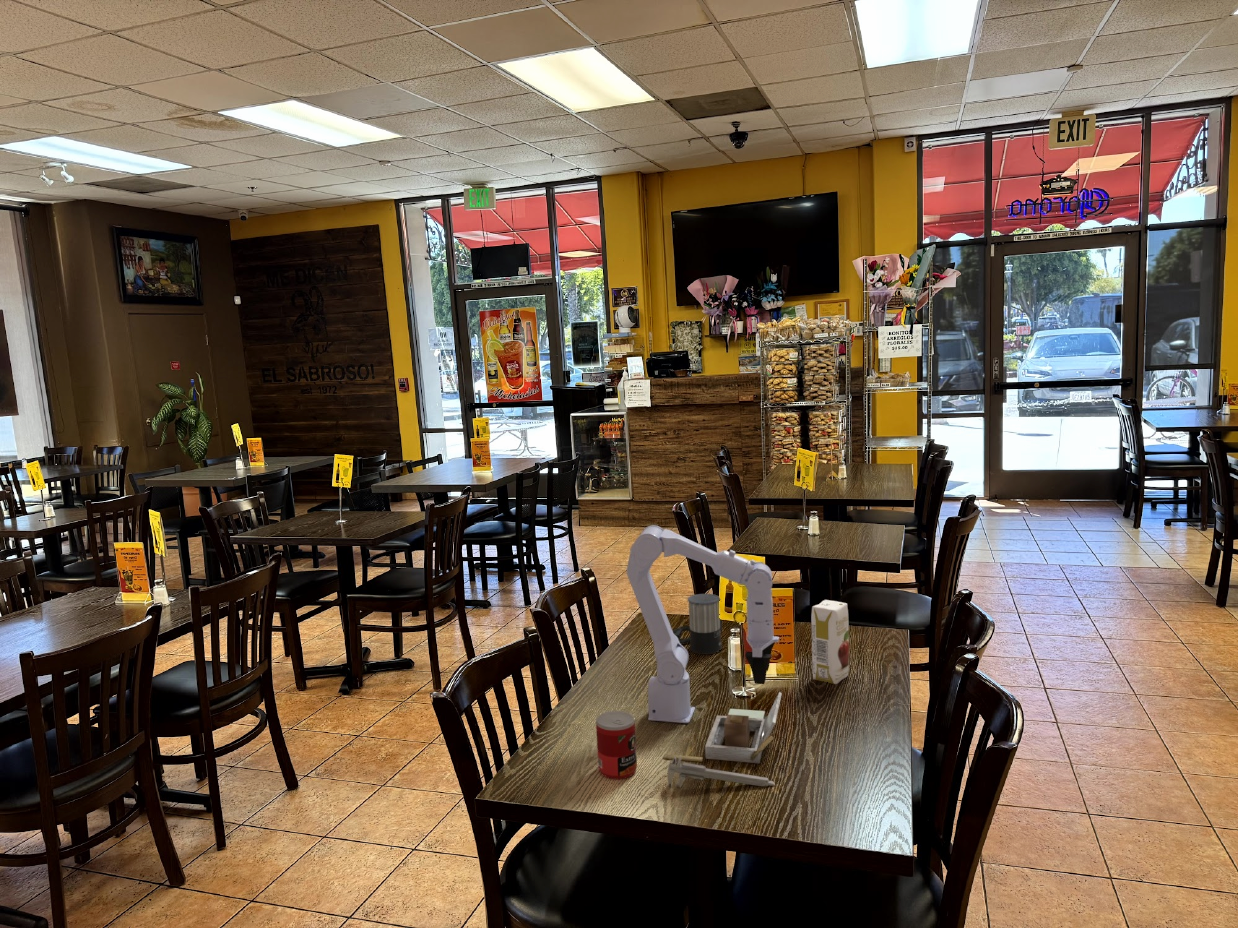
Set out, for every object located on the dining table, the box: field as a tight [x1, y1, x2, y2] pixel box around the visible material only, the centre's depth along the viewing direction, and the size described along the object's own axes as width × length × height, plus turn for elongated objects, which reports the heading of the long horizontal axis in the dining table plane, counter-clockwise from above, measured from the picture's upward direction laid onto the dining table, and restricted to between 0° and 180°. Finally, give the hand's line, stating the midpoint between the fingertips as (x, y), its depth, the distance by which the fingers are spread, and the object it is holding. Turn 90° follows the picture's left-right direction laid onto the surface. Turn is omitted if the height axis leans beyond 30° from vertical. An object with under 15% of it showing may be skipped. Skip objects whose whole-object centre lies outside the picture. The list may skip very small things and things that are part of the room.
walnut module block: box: [724, 714, 750, 748], centre depth 176 cm, size 4×4×6 cm
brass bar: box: [663, 753, 704, 763], centre depth 171 cm, size 8×1×1 cm, turn 74°
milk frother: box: [672, 593, 723, 655], centre depth 236 cm, size 14×16×15 cm
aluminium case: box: [704, 714, 765, 764], centre depth 176 cm, size 11×15×3 cm
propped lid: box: [750, 691, 783, 761], centre depth 174 cm, size 5×16×8 cm, turn 164°
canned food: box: [595, 710, 638, 780], centre depth 167 cm, size 8×8×11 cm
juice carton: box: [810, 599, 850, 685], centre depth 208 cm, size 8×9×19 cm
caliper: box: [667, 756, 776, 789], centre depth 160 cm, size 20×1×6 cm, turn 87°
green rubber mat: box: [727, 708, 766, 719], centre depth 188 cm, size 8×8×1 cm
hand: (761, 676), depth 187 cm, fingers open, 7 cm apart
